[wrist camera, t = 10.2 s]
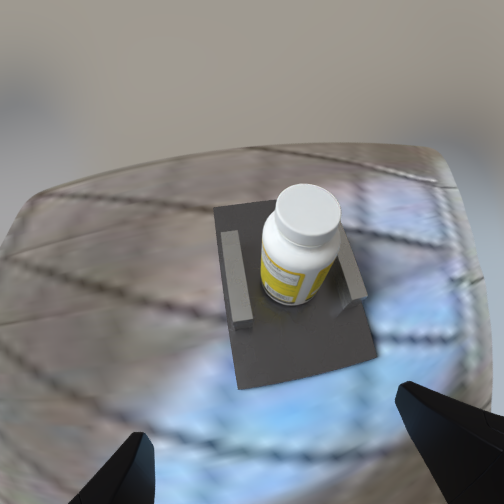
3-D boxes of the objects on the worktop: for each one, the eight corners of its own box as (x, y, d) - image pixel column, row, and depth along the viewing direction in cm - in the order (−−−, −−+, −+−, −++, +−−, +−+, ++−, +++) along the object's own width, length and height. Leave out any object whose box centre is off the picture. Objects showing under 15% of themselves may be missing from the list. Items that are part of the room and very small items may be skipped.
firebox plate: (373, 358, 21) (390, 351, 18) (238, 389, 20) (236, 389, 17) (320, 199, 30) (326, 179, 27) (214, 212, 29) (210, 191, 26)
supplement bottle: (311, 248, 26) (337, 173, 17) (326, 301, 23) (367, 241, 14) (255, 255, 25) (257, 178, 17) (264, 311, 22) (273, 252, 14)
